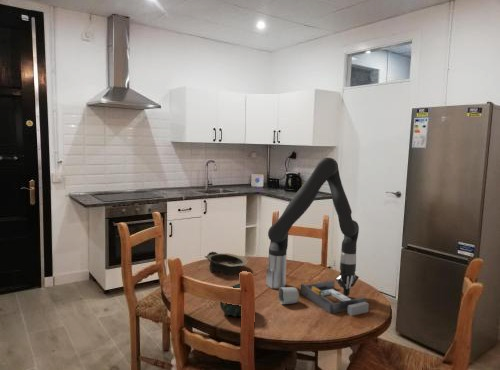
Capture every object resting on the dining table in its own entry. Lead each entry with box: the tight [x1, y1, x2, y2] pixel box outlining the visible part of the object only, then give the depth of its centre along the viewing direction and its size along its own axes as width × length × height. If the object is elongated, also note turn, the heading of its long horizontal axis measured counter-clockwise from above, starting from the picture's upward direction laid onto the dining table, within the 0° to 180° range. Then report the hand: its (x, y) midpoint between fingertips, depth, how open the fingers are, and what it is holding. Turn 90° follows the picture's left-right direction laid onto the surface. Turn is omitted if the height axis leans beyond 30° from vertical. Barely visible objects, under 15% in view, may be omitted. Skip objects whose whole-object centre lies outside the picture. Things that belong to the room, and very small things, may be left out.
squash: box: [219, 283, 241, 317], centre depth 167 cm, size 14×15×15 cm
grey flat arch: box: [321, 289, 352, 302], centre depth 185 cm, size 18×2×15 cm
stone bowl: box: [204, 251, 248, 276], centre depth 223 cm, size 25×25×9 cm
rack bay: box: [300, 279, 367, 314], centre depth 185 cm, size 20×24×7 cm
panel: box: [346, 301, 370, 317], centre depth 172 cm, size 10×2×4 cm, turn 116°
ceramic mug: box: [278, 286, 300, 305], centre depth 182 cm, size 11×8×8 cm
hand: (346, 295), depth 189 cm, fingers closed
